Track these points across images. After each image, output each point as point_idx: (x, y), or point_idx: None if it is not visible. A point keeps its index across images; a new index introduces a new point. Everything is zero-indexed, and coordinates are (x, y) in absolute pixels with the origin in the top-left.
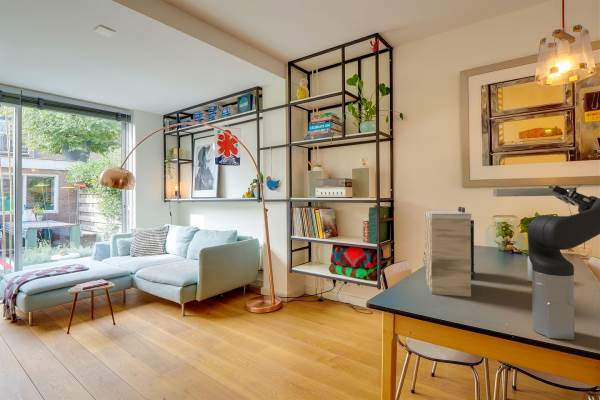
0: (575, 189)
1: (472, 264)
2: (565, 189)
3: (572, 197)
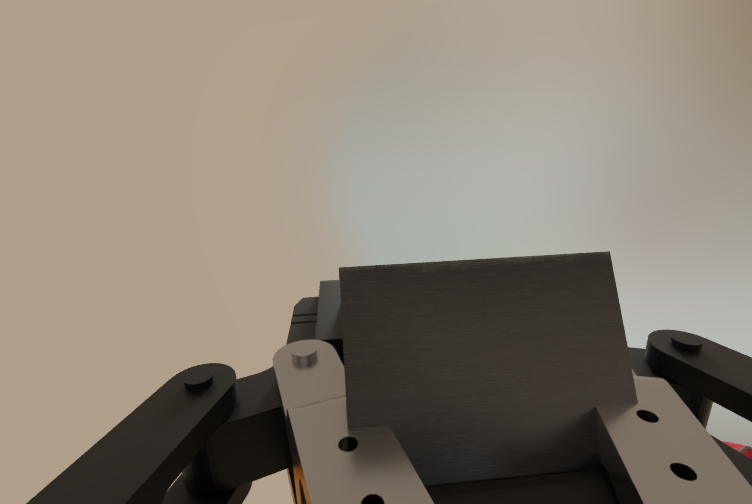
0: (344, 324)
1: None
2: (318, 328)
3: (172, 501)
